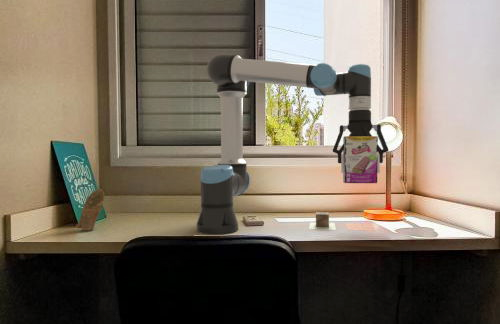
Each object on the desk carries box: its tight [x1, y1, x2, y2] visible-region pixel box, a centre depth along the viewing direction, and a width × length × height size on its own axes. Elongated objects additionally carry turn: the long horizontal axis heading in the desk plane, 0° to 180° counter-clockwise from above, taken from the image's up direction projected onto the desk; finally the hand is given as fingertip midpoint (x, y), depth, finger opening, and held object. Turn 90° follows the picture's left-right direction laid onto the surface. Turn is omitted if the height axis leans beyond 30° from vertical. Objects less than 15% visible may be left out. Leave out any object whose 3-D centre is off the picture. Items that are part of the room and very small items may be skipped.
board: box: [308, 222, 377, 232], centre depth 130 cm, size 24×14×2 cm, turn 79°
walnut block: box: [315, 211, 330, 227], centre depth 131 cm, size 4×4×4 cm
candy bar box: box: [342, 135, 379, 184], centre depth 128 cm, size 11×5×16 cm, turn 84°
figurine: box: [75, 188, 105, 231], centre depth 135 cm, size 8×8×15 cm
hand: (360, 172), depth 128 cm, fingers closed on candy bar box, 11 cm apart
